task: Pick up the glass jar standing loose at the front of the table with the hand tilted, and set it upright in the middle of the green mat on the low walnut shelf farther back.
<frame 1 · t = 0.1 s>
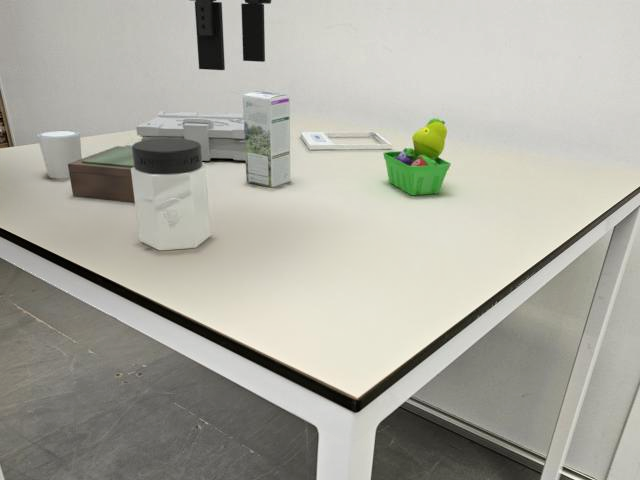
hand: (234, 65, 72), 21 cm above the table, tool pointing down, fingers open, 13 cm apart
photo frame: (344, 143, 136), on the table
jar: (175, 240, 78), on the table
shelf: (136, 188, 99), on the table
shot glass: (65, 175, 106), on the table
syrup box: (268, 183, 104), on the table
fruit basket: (416, 188, 103), on the table
grey plastic tool case: (195, 152, 124), on the table
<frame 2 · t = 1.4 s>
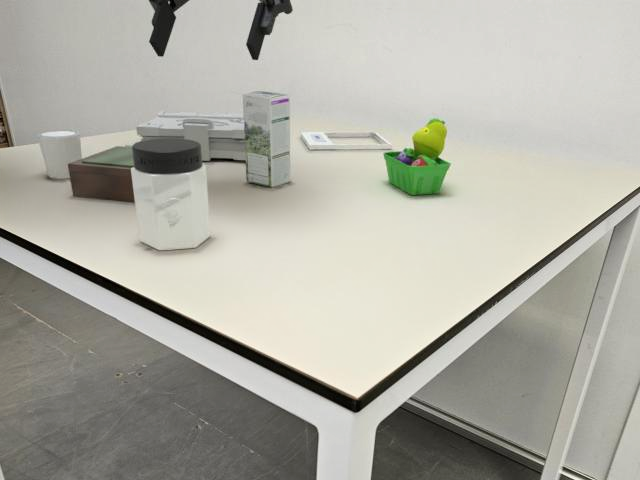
hand: (203, 51, 78), 22 cm above the table, tool tilted 45°, fingers open, 13 cm apart
nothing on the table moved.
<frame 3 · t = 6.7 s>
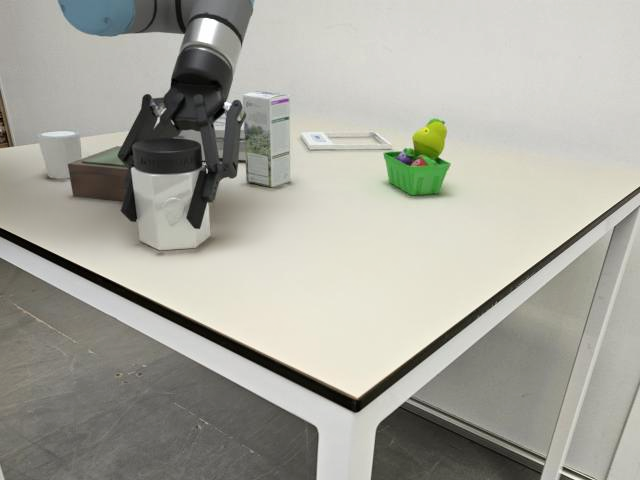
hand: (160, 220, 73), 4 cm above the table, tool tilted 45°, fingers closed on jar, 8 cm apart
jar: (175, 240, 78), on the table, touching gripper
everything else where it was.
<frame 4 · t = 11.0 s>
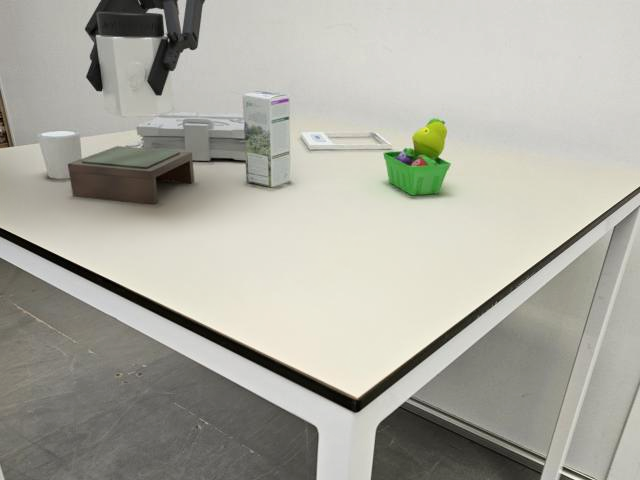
hand: (123, 86, 77), 17 cm above the table, tool tilted 45°, fingers closed on jar, 8 cm apart
jar: (140, 113, 82), point 14 cm above the table, touching gripper
everything else where it was.
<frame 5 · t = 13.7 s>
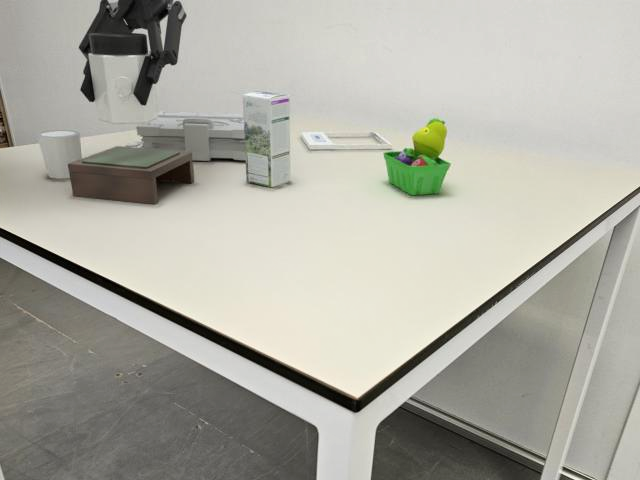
hand: (113, 97, 89), 14 cm above the table, tool tilted 45°, fingers closed on jar, 8 cm apart
jar: (128, 120, 94), point 11 cm above the table, touching gripper
everything else where it was.
when the fingers open (9 cm above the table, at t = 15.7 s): jar stays where it is, resting on shelf.
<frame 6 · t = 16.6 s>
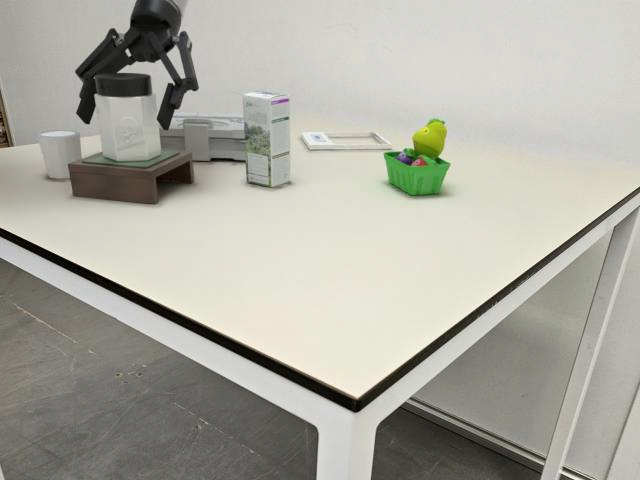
hand: (121, 122, 92), 11 cm above the table, tool tilted 45°, fingers open, 13 cm apart
jar: (132, 157, 96), point 5 cm above the table, touching shelf
everything else where it was.
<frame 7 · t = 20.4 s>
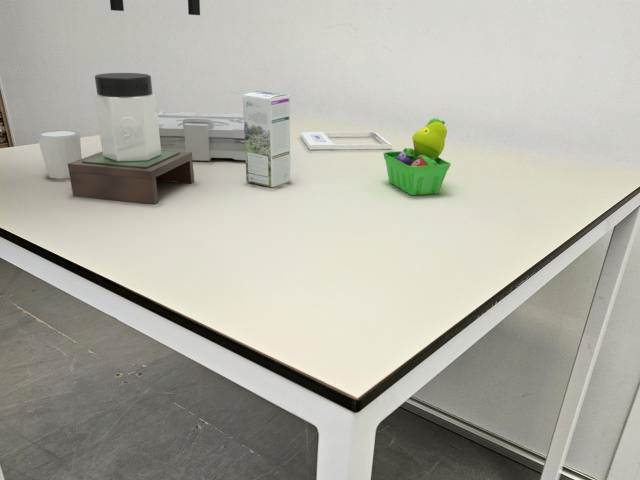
hand: (155, 13, 97), 26 cm above the table, tool pointing down, fingers open, 13 cm apart
nothing on the table moved.
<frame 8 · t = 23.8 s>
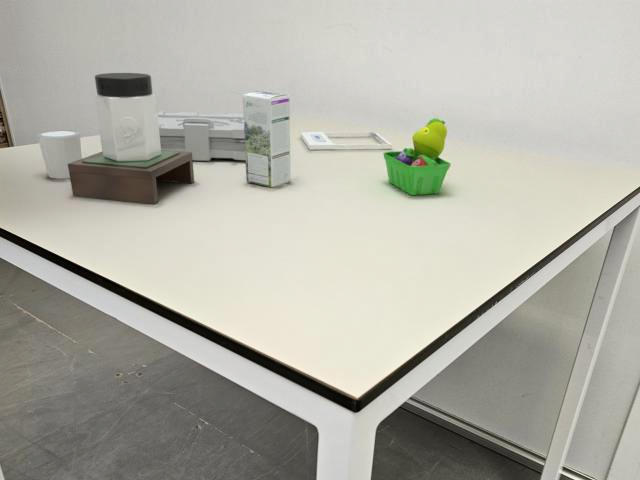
nothing on the table moved.
at the end: jar inside the target area on the shelf (0.1 cm from its centre), point 5.0 cm above the shelf's base; jar tilted 0°; the gripper is holding nothing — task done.
